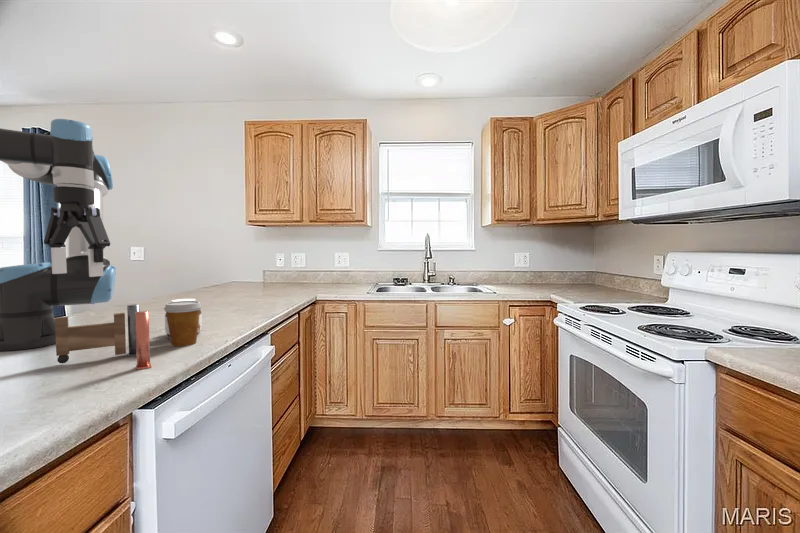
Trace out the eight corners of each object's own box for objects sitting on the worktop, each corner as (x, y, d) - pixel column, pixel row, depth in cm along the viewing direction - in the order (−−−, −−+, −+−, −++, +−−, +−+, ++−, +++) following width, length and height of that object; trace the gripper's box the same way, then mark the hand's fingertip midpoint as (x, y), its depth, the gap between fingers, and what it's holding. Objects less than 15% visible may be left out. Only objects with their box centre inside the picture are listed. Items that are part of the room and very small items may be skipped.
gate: (57, 362, 91) (55, 317, 90) (125, 353, 99) (124, 311, 98) (56, 364, 89) (54, 318, 88) (126, 355, 97) (124, 313, 96)
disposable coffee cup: (192, 338, 117) (191, 299, 116) (208, 342, 111) (207, 302, 111) (158, 344, 109) (157, 303, 109) (174, 349, 104) (173, 306, 103)
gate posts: (128, 354, 99) (126, 305, 99) (145, 351, 102) (144, 303, 101) (131, 370, 86) (129, 313, 85) (151, 367, 88) (149, 312, 88)
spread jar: (182, 341, 113) (181, 302, 113) (150, 339, 116) (149, 301, 115) (210, 332, 125) (209, 297, 125) (180, 331, 127) (179, 296, 127)
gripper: (22, 186, 92) (26, 273, 93) (91, 183, 84) (95, 278, 85) (58, 190, 99) (62, 271, 100) (126, 188, 91) (128, 276, 92)
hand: (77, 275), depth 93 cm, fingers open, 13 cm apart
